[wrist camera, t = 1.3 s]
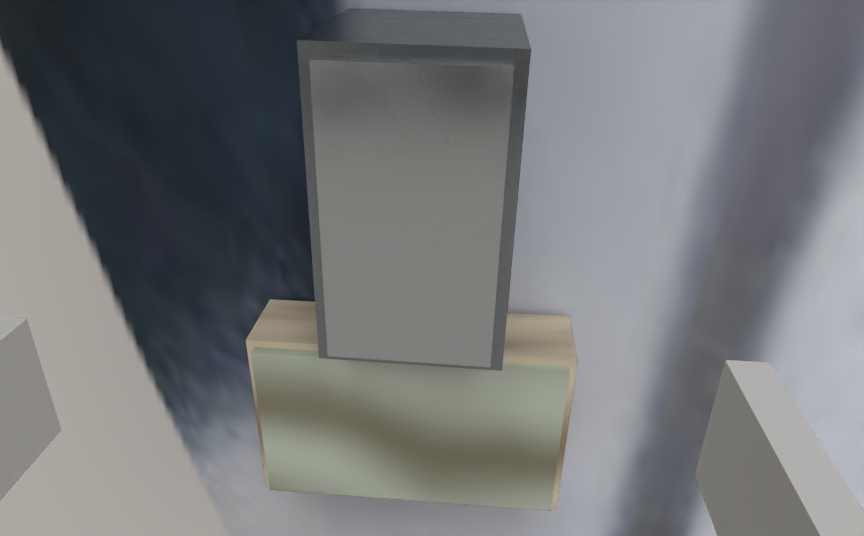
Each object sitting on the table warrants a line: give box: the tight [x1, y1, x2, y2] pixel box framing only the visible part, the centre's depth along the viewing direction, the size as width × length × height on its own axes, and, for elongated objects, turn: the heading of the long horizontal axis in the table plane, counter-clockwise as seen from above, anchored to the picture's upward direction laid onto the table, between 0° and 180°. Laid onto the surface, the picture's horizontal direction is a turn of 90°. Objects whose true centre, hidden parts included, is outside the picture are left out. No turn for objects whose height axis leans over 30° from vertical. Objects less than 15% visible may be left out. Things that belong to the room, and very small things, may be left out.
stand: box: [246, 299, 578, 511], centre depth 29 cm, size 8×13×4 cm, turn 89°
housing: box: [297, 9, 531, 371], centre depth 22 cm, size 10×6×7 cm, turn 179°
